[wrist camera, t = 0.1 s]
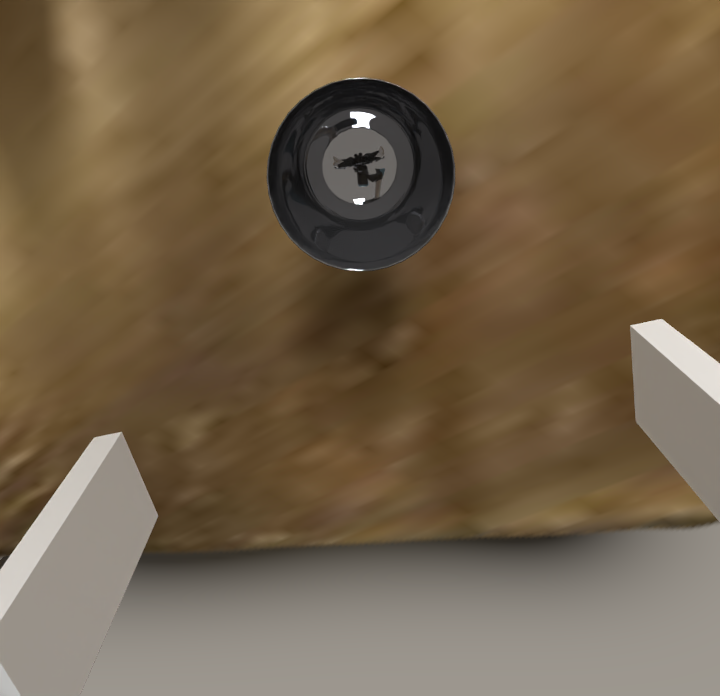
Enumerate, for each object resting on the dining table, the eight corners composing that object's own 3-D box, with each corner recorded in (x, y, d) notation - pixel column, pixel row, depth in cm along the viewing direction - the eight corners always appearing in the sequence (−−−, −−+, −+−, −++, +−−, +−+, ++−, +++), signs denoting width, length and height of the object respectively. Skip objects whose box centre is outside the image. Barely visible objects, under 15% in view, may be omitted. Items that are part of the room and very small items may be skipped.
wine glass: (335, 50, 38) (328, 34, 24) (443, 123, 40) (493, 148, 26) (271, 166, 41) (232, 211, 27) (376, 230, 42) (389, 303, 29)
